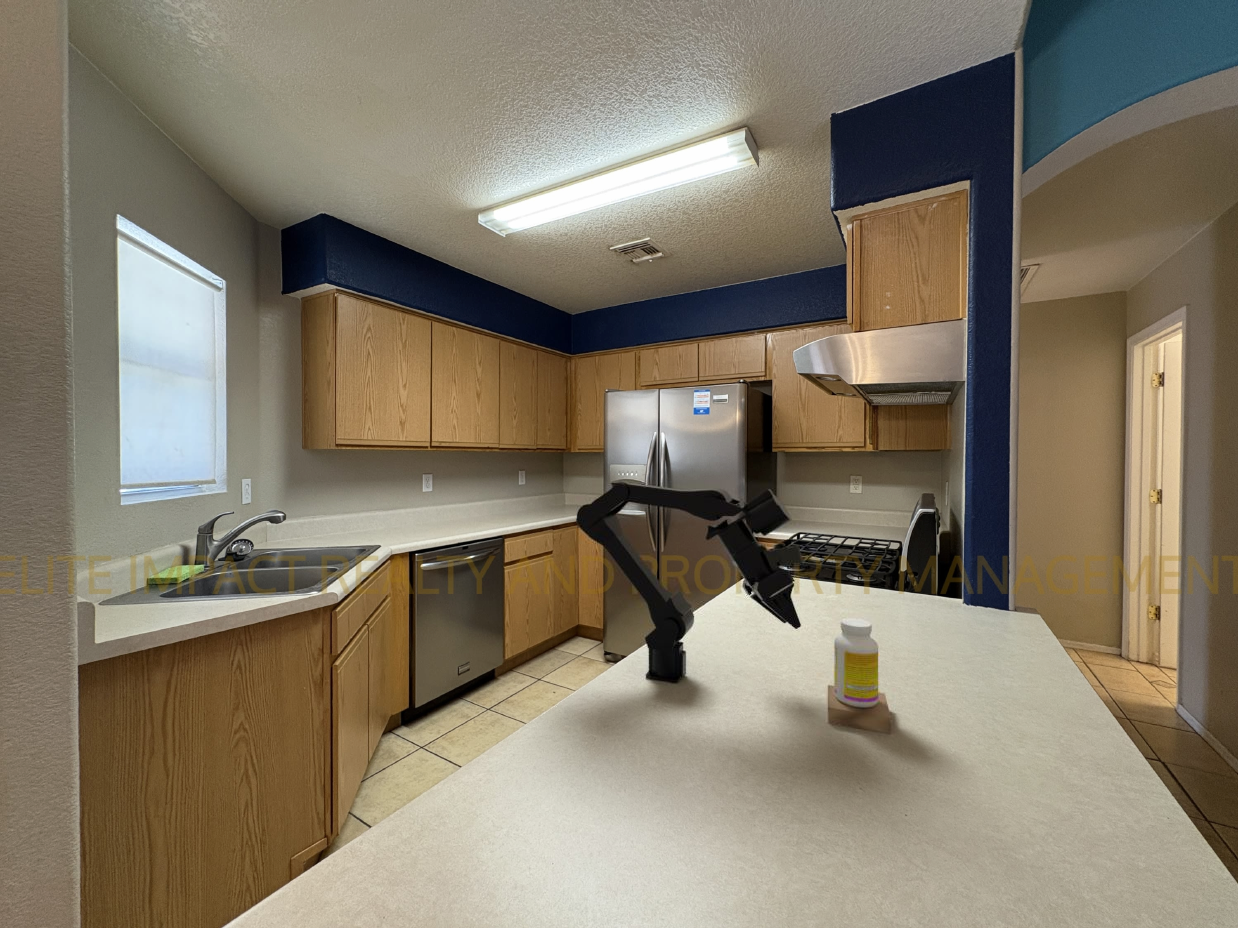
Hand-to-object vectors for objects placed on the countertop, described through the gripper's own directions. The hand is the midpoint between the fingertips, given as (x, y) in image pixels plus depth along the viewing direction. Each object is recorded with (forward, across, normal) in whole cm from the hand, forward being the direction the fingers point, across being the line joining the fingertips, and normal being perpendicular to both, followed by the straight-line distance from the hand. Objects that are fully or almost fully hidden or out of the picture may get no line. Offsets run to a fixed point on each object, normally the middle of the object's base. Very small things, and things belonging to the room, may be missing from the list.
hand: (792, 624), depth 93 cm
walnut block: (+16, -3, 0) cm, 17 cm away
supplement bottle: (+14, -4, -2) cm, 15 cm away
